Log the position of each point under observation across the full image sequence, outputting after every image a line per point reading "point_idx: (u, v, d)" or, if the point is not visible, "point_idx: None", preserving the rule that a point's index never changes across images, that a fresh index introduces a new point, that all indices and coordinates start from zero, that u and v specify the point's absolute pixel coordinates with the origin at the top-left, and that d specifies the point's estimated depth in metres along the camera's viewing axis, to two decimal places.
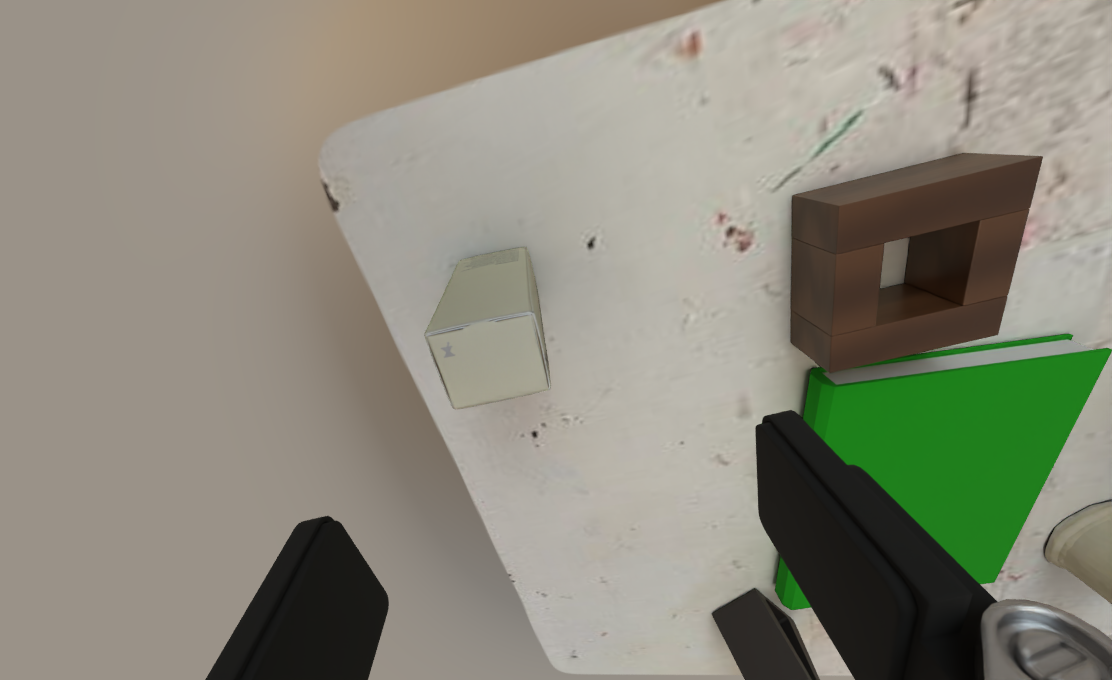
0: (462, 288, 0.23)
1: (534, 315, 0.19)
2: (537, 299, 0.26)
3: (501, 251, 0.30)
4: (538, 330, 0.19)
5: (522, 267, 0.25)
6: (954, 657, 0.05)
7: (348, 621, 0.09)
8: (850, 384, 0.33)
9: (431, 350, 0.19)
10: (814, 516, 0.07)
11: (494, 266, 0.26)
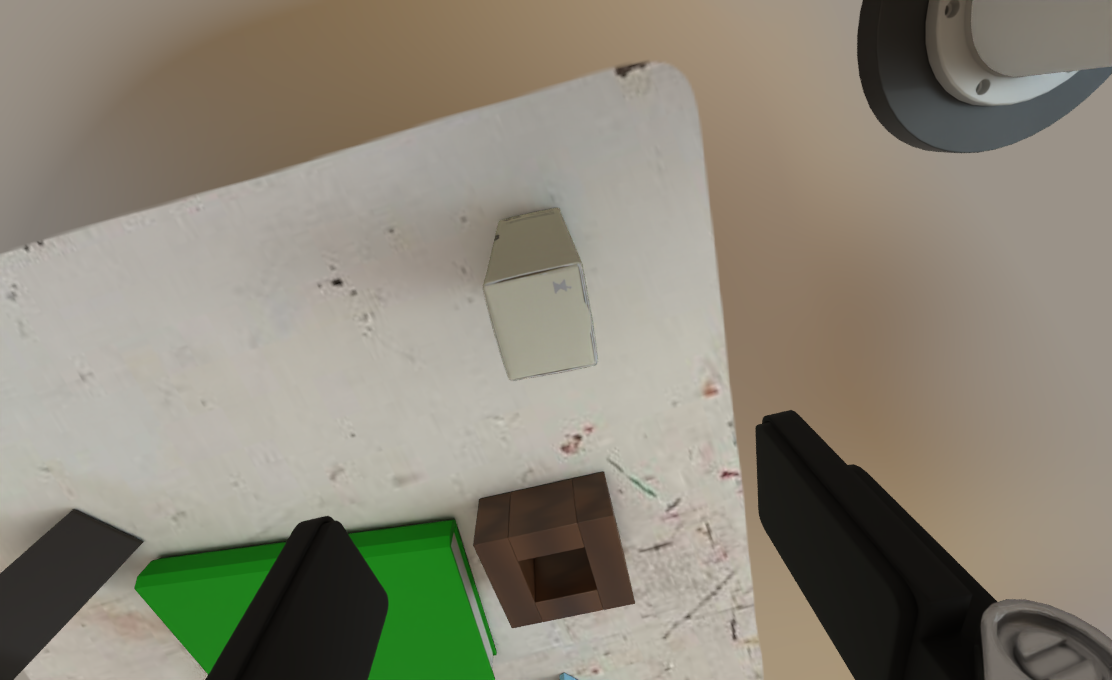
0: None
1: (593, 365, 0.20)
2: None
3: None
4: (576, 368, 0.20)
5: None
6: (953, 657, 0.05)
7: (348, 621, 0.09)
8: (453, 555, 0.38)
9: (560, 267, 0.17)
10: (814, 516, 0.07)
11: None
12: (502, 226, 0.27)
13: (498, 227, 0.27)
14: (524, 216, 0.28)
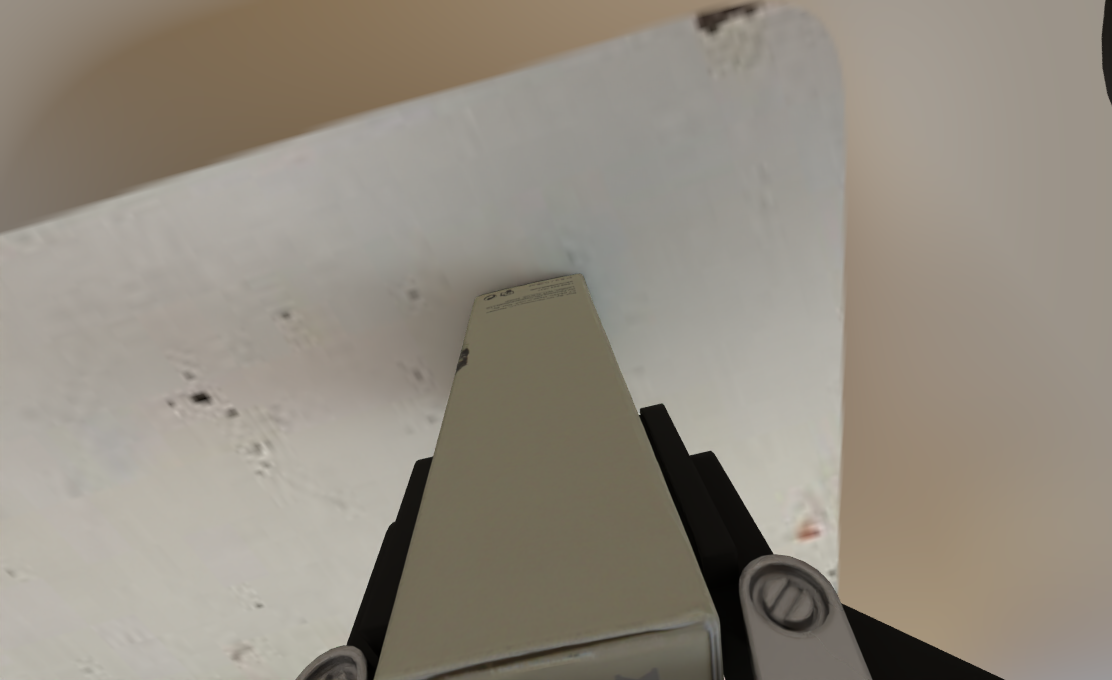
0: None
1: None
2: None
3: None
4: None
5: None
6: (728, 602, 0.06)
7: None
8: None
9: (643, 634, 0.05)
10: None
11: None
12: (478, 318, 0.14)
13: (471, 319, 0.14)
14: (520, 292, 0.15)
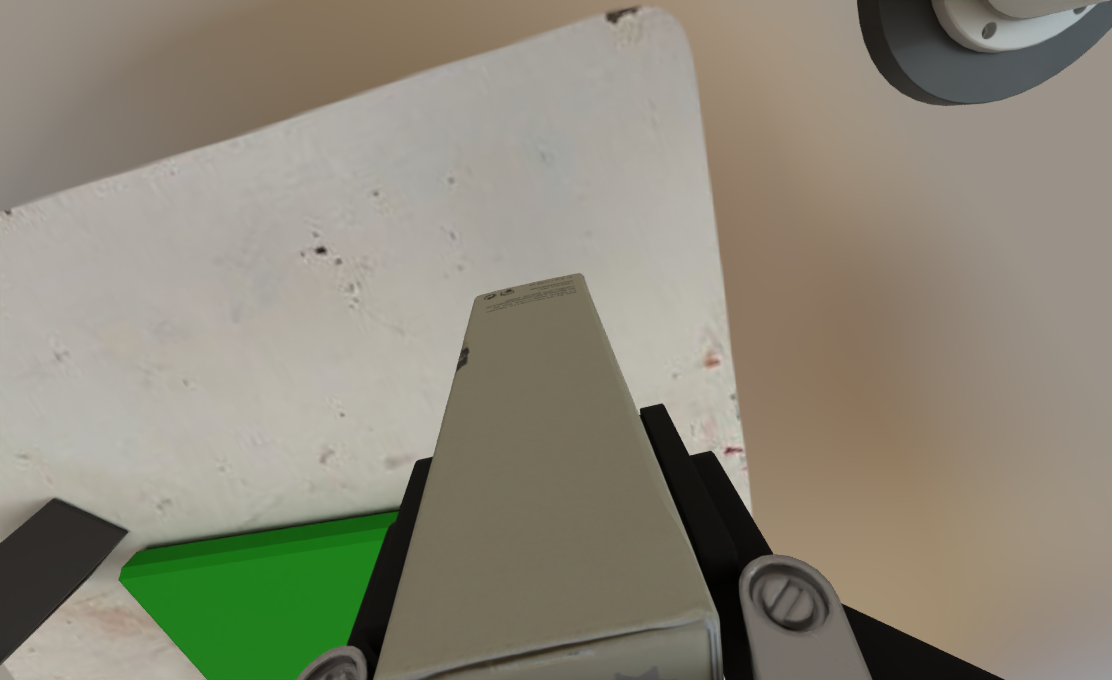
0: None
1: None
2: None
3: None
4: None
5: None
6: (727, 602, 0.06)
7: None
8: None
9: (643, 632, 0.05)
10: None
11: None
12: (478, 317, 0.14)
13: (471, 318, 0.14)
14: (520, 292, 0.15)
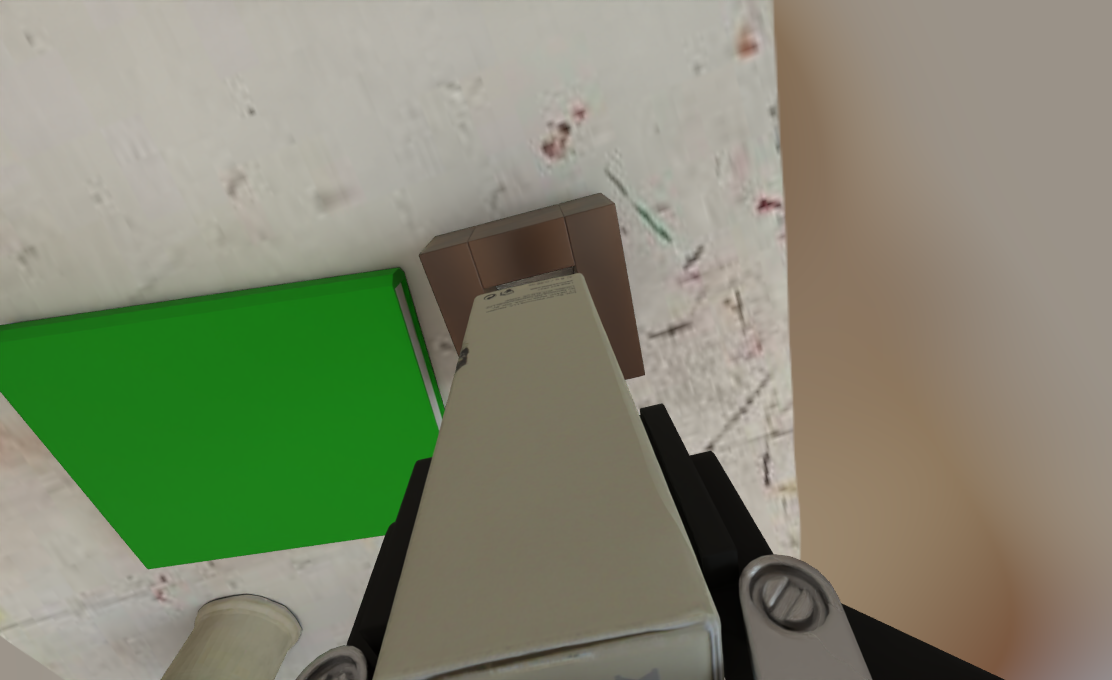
0: None
1: None
2: None
3: None
4: None
5: None
6: (728, 602, 0.06)
7: None
8: (398, 303, 0.28)
9: (643, 634, 0.05)
10: None
11: None
12: (478, 317, 0.14)
13: (471, 318, 0.14)
14: (520, 292, 0.15)
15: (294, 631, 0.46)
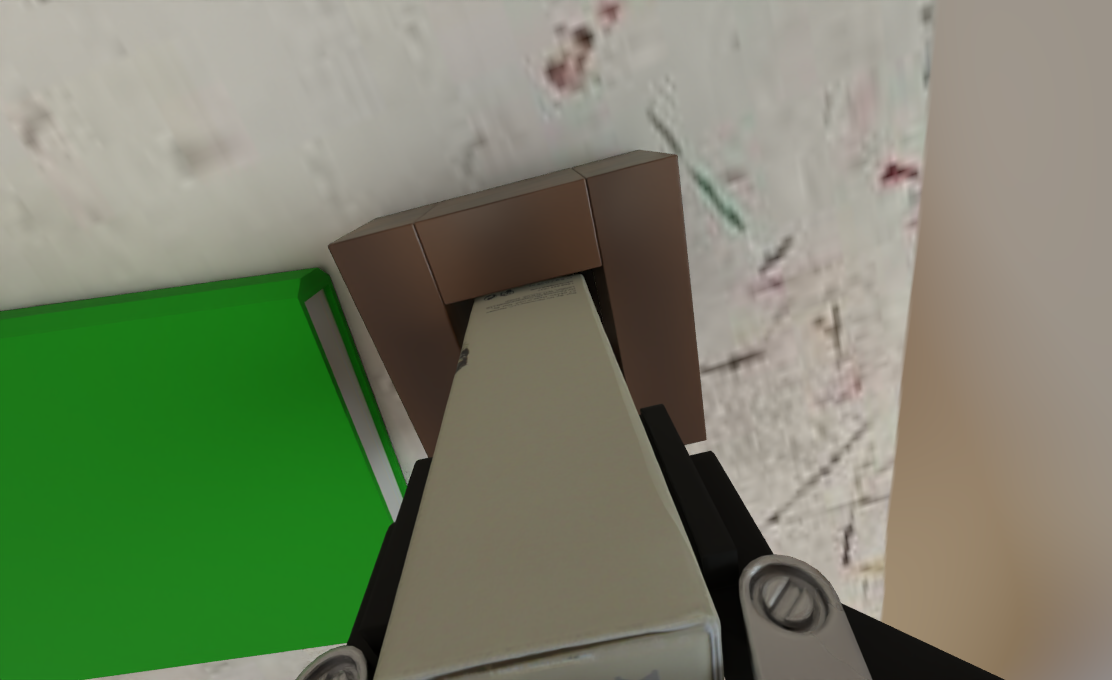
0: None
1: None
2: None
3: None
4: None
5: None
6: (728, 602, 0.06)
7: None
8: (310, 326, 0.17)
9: (643, 635, 0.05)
10: None
11: None
12: (478, 318, 0.14)
13: (471, 319, 0.14)
14: (520, 292, 0.15)
15: None
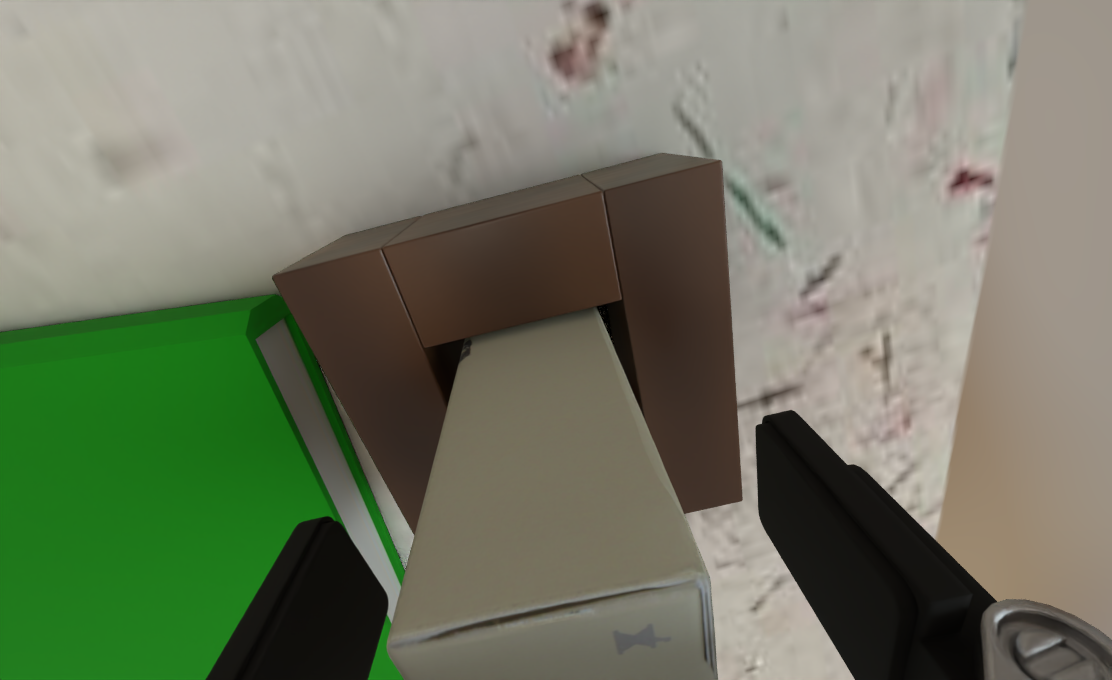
0: None
1: None
2: None
3: None
4: None
5: None
6: (954, 657, 0.05)
7: (348, 621, 0.09)
8: (263, 368, 0.14)
9: (639, 591, 0.05)
10: (814, 516, 0.07)
11: None
12: None
13: None
14: None
15: None
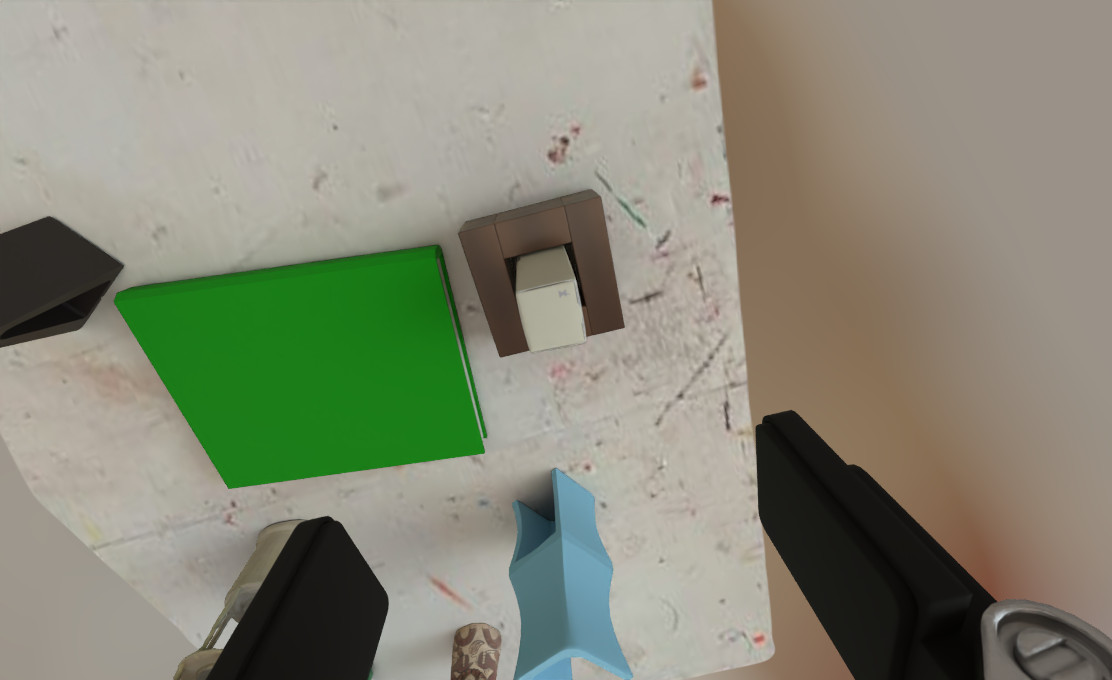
0: None
1: (583, 343, 0.31)
2: None
3: None
4: (573, 345, 0.31)
5: None
6: (955, 658, 0.05)
7: (348, 621, 0.09)
8: (438, 271, 0.38)
9: (562, 282, 0.29)
10: (814, 516, 0.07)
11: None
12: None
13: None
14: None
15: None
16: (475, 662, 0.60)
